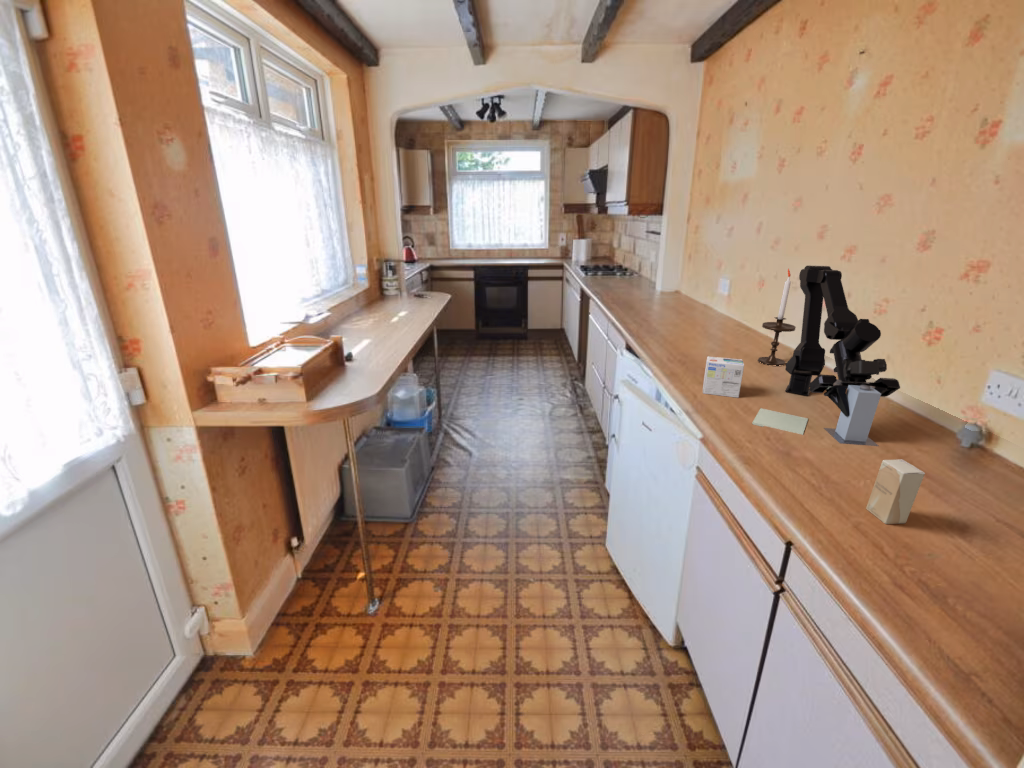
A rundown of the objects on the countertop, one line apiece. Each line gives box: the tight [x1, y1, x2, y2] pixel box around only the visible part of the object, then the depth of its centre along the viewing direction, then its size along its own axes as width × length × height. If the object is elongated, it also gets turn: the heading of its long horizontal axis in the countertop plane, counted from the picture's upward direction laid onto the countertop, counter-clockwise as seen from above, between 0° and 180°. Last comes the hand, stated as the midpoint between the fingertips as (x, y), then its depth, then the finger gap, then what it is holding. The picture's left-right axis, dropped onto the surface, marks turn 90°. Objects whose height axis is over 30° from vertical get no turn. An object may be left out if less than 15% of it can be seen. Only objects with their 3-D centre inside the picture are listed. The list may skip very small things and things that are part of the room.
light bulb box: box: [702, 355, 745, 398], centre depth 152 cm, size 11×7×11 cm, turn 71°
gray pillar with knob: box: [835, 385, 881, 442], centre depth 121 cm, size 5×5×14 cm
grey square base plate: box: [823, 427, 880, 447], centre depth 123 cm, size 9×9×3 cm
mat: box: [751, 407, 809, 436], centre depth 132 cm, size 12×12×1 cm
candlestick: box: [757, 268, 797, 367], centre depth 178 cm, size 11×11×35 cm
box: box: [865, 458, 926, 525], centre depth 91 cm, size 5×4×11 cm
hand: (859, 416), depth 120 cm, fingers closed on gray pillar with knob, 5 cm apart
